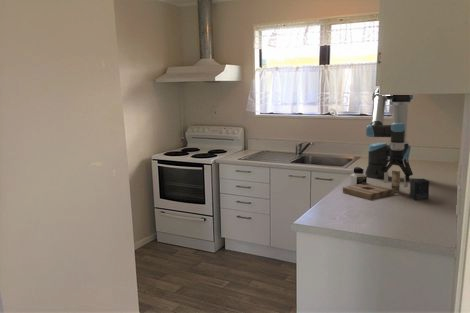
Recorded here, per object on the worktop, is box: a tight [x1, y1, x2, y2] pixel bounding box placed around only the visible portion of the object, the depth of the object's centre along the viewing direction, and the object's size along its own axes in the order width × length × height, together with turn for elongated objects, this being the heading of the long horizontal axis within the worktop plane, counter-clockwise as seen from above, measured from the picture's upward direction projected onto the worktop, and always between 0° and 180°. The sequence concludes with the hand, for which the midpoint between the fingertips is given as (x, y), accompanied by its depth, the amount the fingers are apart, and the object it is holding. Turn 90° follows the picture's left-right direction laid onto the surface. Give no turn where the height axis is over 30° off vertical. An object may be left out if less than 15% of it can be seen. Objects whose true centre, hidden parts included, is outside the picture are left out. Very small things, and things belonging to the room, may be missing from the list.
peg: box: [391, 170, 401, 193], centre depth 230 cm, size 4×4×12 cm
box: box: [409, 178, 430, 201], centre depth 213 cm, size 8×6×11 cm
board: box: [342, 182, 395, 200], centre depth 227 cm, size 20×20×3 cm
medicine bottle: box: [350, 166, 368, 186], centre depth 244 cm, size 7×7×12 cm
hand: (395, 184), depth 231 cm, fingers open, 13 cm apart
